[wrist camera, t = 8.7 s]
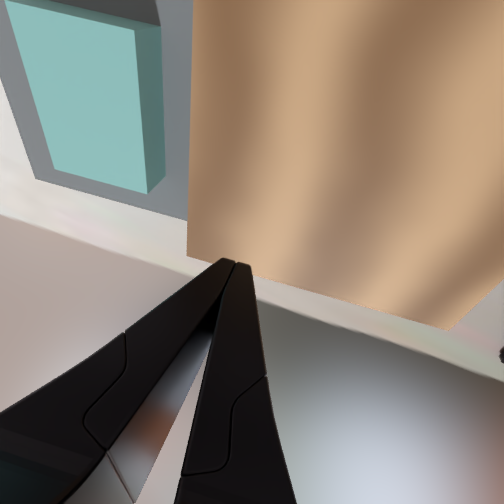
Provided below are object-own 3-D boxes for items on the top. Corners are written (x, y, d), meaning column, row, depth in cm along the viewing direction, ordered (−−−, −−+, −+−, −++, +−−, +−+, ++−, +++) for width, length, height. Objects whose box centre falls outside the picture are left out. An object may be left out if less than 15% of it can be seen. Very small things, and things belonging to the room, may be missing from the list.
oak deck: (644, 30, 11) (755, 41, 8) (433, 282, 20) (448, 330, 17) (231, -58, 12) (195, -78, 9) (208, 220, 21) (186, 255, 18)
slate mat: (220, -79, 12) (220, -79, 12) (201, 224, 22) (200, 224, 22) (-74, -141, 13) (-76, -142, 13) (36, 178, 23) (35, 178, 23)
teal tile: (4, -1, 13) (46, -1, 15) (54, 169, 18) (81, 153, 20) (134, 30, 13) (160, 26, 15) (147, 194, 18) (165, 176, 20)
